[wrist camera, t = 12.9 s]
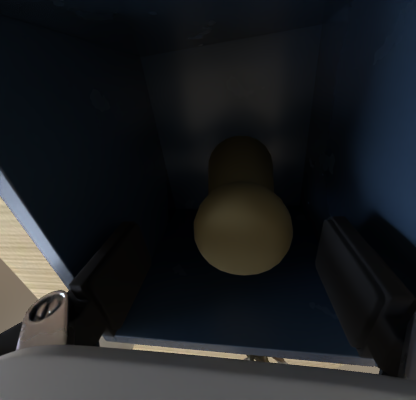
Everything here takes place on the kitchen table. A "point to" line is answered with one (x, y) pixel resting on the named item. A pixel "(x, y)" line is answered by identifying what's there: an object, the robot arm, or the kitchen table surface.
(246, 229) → the olive tall rounded piece
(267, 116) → the bin
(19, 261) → the kitchen table surface
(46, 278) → the kitchen table surface
